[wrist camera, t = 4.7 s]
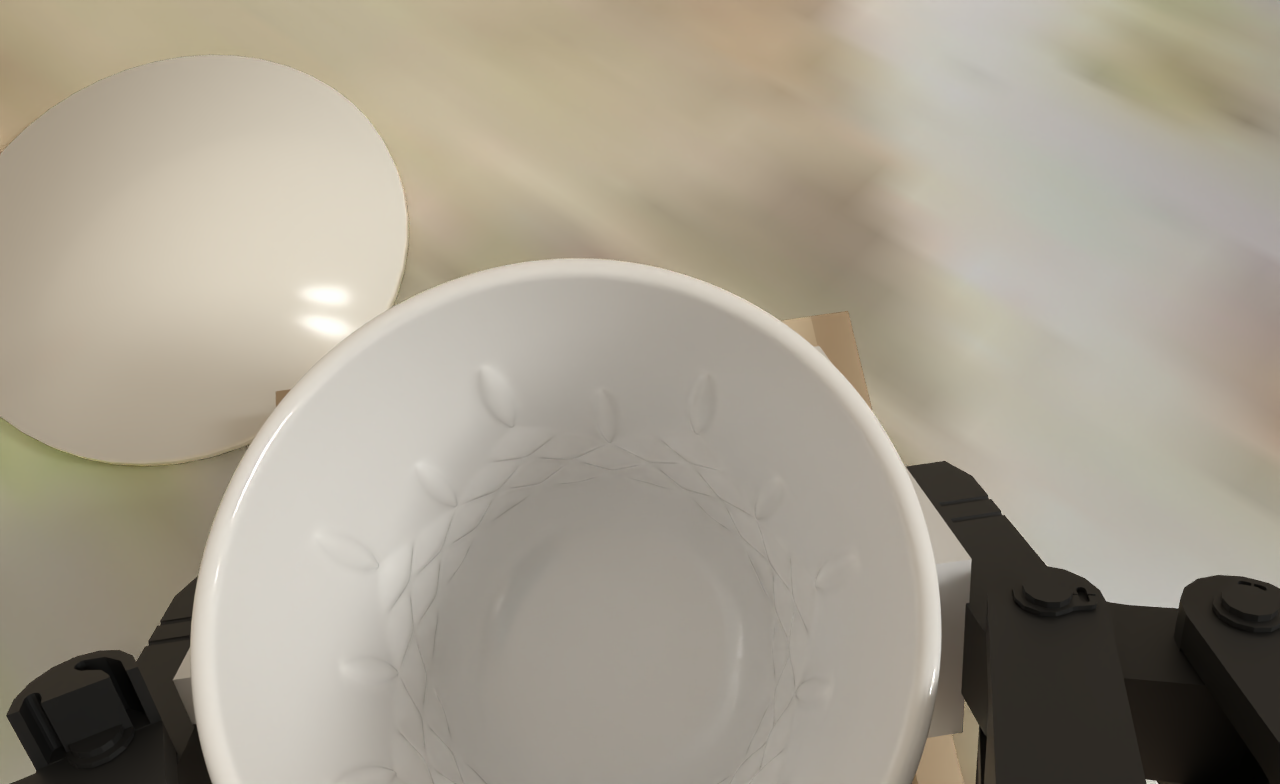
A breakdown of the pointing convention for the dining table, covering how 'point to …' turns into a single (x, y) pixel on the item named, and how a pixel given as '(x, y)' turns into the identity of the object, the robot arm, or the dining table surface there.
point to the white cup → (568, 552)
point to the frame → (834, 334)
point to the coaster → (187, 254)
